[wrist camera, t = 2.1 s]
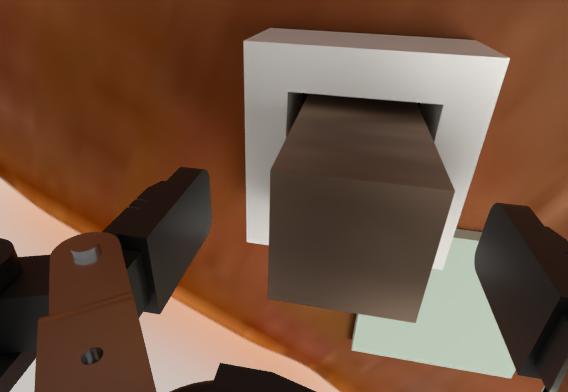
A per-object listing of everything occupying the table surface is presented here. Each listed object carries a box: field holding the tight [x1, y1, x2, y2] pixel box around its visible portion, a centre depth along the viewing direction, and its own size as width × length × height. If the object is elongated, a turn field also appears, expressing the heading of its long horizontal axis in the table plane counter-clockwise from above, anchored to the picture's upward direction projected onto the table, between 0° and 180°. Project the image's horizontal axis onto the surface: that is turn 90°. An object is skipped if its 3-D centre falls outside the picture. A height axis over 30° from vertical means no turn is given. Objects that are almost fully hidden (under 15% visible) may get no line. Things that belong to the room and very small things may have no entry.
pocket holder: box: [243, 28, 510, 270], centre depth 15 cm, size 8×8×4 cm
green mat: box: [352, 229, 516, 379], centre depth 20 cm, size 9×9×1 cm
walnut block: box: [268, 94, 455, 323], centre depth 13 cm, size 4×4×9 cm
